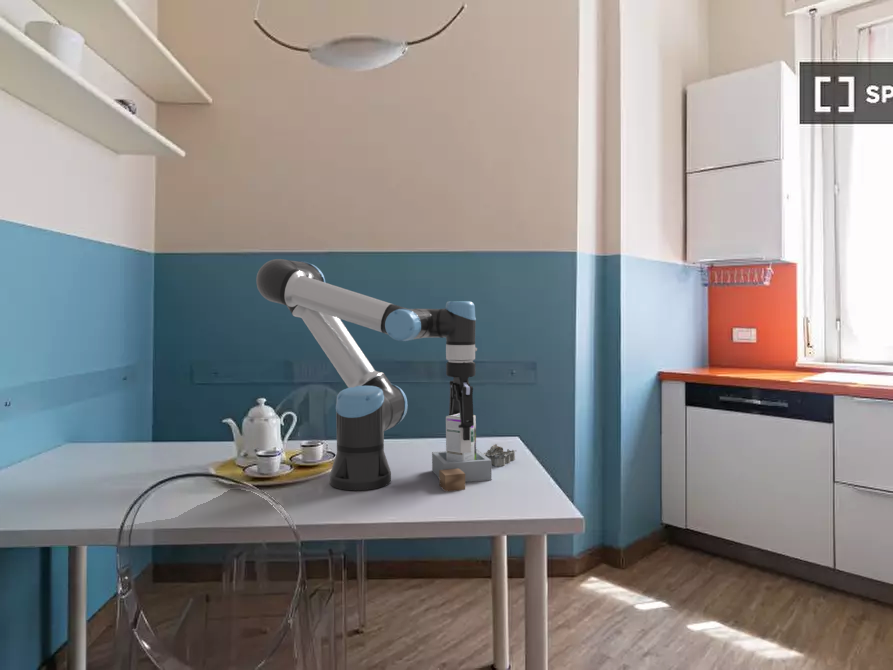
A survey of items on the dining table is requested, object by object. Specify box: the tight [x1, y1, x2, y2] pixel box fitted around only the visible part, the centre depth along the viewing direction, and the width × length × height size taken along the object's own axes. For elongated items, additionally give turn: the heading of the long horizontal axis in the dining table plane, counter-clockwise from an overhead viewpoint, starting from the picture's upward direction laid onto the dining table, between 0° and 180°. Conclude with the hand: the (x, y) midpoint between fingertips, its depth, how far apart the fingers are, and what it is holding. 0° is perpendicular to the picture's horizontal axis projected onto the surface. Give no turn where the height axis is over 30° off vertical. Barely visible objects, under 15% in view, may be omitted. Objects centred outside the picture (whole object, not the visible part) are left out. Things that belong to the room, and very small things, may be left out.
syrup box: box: [445, 413, 477, 462], centre depth 165 cm, size 6×6×14 cm
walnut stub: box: [438, 468, 466, 492], centre depth 154 cm, size 5×5×4 cm
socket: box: [431, 448, 492, 483], centre depth 165 cm, size 12×12×5 cm
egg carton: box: [483, 443, 516, 467], centre depth 179 cm, size 11×8×4 cm
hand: (460, 448), depth 165 cm, fingers closed on syrup box, 8 cm apart
